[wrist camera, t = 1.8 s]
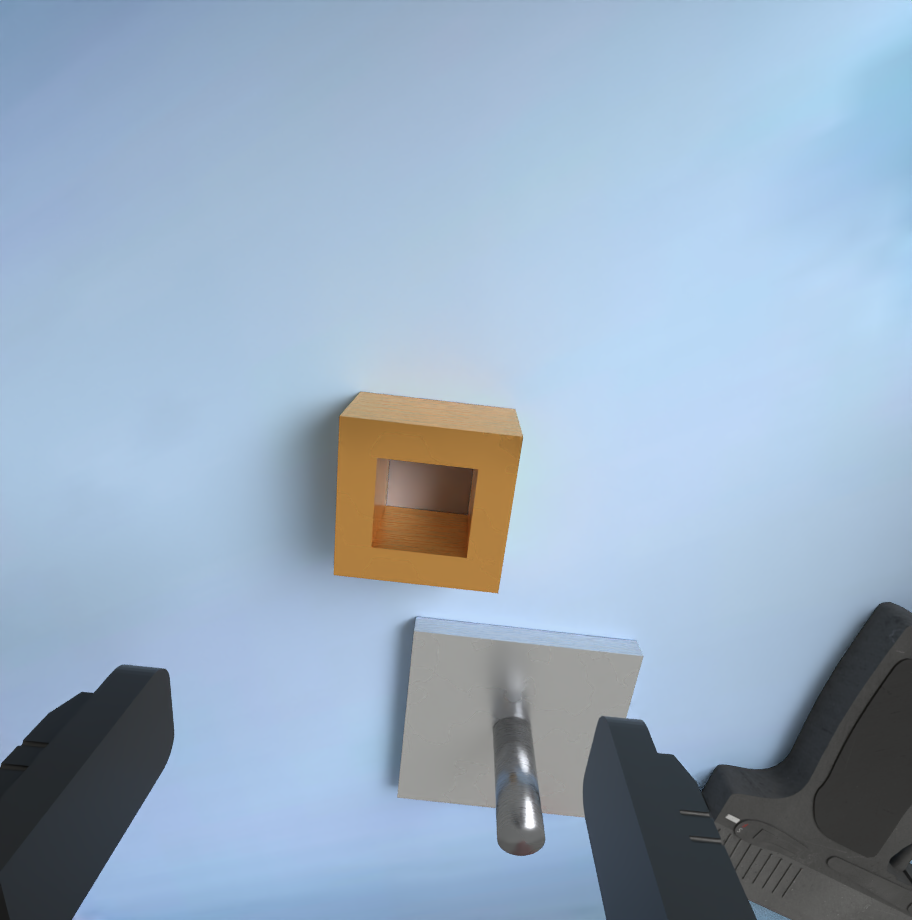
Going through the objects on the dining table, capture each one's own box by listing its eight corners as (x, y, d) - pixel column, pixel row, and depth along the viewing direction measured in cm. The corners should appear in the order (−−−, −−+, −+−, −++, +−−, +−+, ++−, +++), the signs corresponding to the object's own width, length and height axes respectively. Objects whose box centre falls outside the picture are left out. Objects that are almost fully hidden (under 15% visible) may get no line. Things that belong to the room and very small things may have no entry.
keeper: (416, 616, 24) (399, 723, 19) (636, 641, 24) (685, 754, 19) (399, 779, 28) (381, 911, 22) (593, 800, 28) (623, 936, 22)
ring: (360, 391, 21) (339, 415, 18) (515, 409, 21) (522, 436, 18) (353, 529, 23) (333, 575, 20) (494, 545, 23) (498, 593, 20)
